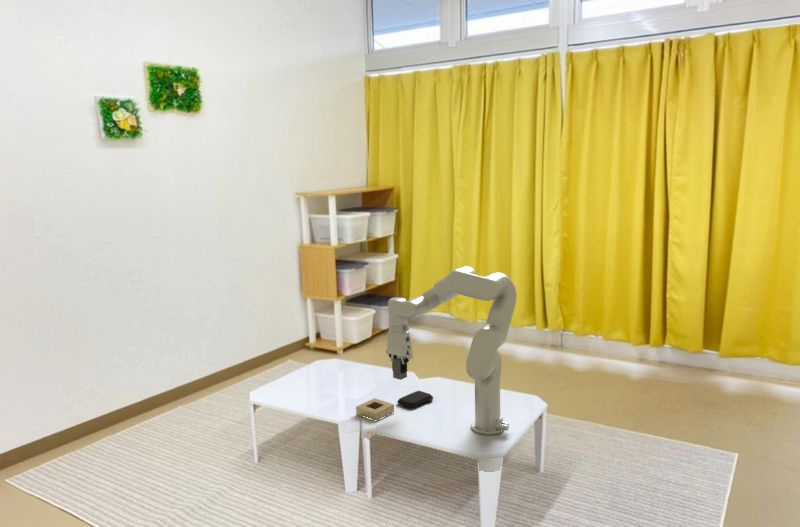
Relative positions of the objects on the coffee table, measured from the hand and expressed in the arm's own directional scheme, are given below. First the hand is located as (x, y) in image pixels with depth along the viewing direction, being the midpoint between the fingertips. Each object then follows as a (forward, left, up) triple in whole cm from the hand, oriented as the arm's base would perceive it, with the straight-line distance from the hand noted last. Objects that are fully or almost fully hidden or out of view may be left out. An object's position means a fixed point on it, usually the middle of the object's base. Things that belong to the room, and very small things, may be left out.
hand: (399, 370), depth 227 cm
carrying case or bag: (+1, -11, -18) cm, 21 cm away
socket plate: (+7, +8, -17) cm, 21 cm away
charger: (0, 0, -3) cm, 3 cm away
